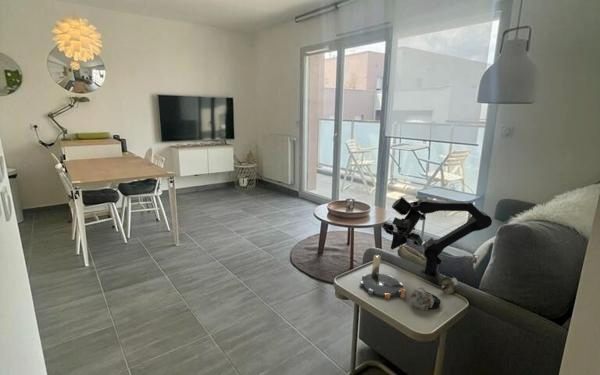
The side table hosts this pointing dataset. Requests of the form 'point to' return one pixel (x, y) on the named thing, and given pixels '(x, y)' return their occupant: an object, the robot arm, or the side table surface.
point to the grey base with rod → (380, 282)
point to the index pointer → (403, 293)
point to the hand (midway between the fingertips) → (391, 248)
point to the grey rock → (424, 300)
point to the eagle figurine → (448, 284)
